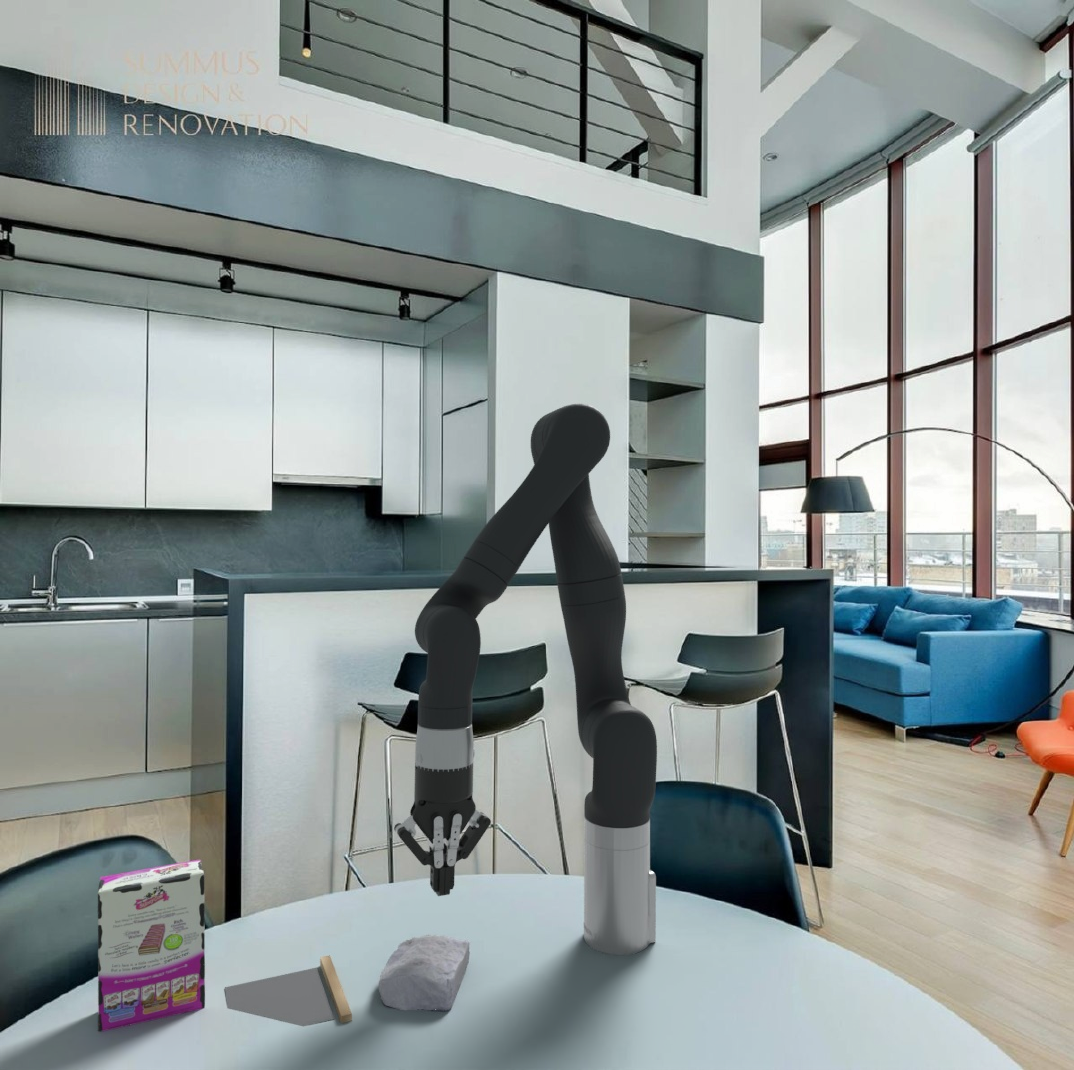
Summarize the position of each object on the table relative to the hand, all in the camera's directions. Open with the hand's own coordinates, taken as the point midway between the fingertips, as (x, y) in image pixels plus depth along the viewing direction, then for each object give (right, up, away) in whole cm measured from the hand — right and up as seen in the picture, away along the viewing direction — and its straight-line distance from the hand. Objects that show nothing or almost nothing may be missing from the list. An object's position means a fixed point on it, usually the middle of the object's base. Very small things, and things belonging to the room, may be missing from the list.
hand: (441, 892), depth 103 cm
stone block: (-7, -9, -3) cm, 12 cm away
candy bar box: (-33, -10, -10) cm, 35 cm away
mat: (-18, -10, -9) cm, 22 cm away
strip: (-12, -10, -6) cm, 17 cm away
